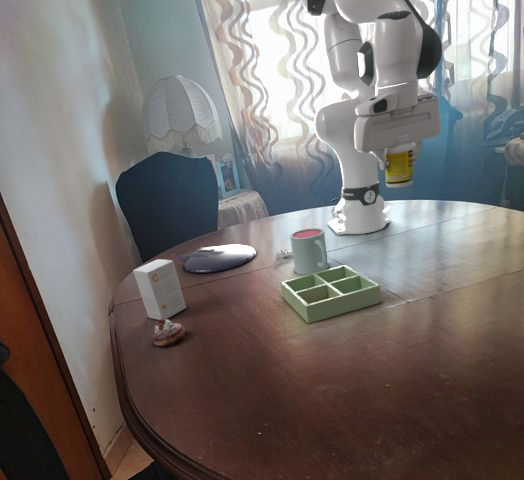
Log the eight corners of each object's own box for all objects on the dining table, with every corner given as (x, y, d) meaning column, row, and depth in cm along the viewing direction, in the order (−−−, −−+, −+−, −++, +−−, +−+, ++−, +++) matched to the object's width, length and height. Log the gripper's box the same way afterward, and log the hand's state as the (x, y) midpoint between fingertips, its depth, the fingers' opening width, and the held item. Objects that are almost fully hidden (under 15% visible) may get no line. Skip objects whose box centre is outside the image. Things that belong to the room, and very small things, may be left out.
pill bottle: (414, 186, 107) (413, 134, 102) (386, 189, 109) (384, 139, 103) (412, 181, 112) (411, 131, 107) (385, 184, 114) (383, 136, 109)
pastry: (156, 334, 109) (150, 315, 106) (187, 328, 108) (182, 309, 106) (151, 350, 102) (144, 330, 99) (184, 344, 101) (178, 323, 99)
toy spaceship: (162, 267, 155) (159, 258, 153) (214, 244, 169) (212, 236, 167) (217, 277, 136) (215, 267, 135) (271, 250, 150) (269, 241, 149)
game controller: (294, 253, 144) (293, 244, 143) (294, 265, 134) (293, 257, 133) (276, 255, 145) (275, 247, 144) (275, 268, 135) (274, 259, 134)
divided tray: (283, 297, 115) (280, 282, 113) (346, 279, 118) (345, 264, 116) (308, 323, 100) (306, 306, 98) (381, 302, 103) (380, 285, 101)
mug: (289, 269, 132) (284, 234, 127) (317, 260, 135) (313, 226, 130) (312, 281, 121) (308, 244, 116) (343, 271, 123) (339, 234, 119)
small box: (171, 305, 123) (157, 258, 117) (186, 308, 120) (173, 260, 113) (147, 317, 118) (132, 269, 112) (162, 321, 114) (147, 272, 108)
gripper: (429, 92, 106) (429, 156, 113) (348, 109, 103) (353, 174, 109) (446, 90, 101) (446, 157, 107) (362, 107, 97) (366, 176, 104)
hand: (398, 166), depth 108 cm, fingers closed on pill bottle, 6 cm apart
